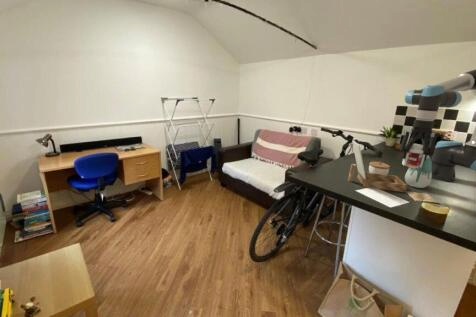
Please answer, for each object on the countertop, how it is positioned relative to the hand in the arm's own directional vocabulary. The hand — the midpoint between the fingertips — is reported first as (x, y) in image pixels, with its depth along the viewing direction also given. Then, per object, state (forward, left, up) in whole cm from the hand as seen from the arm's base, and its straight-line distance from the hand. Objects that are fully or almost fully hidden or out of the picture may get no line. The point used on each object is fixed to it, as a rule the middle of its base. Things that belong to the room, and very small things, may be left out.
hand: (411, 165), depth 114 cm
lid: (+22, -7, -1) cm, 23 cm away
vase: (-11, -12, -15) cm, 22 cm away
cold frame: (+12, -7, -15) cm, 20 cm away
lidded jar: (+6, -21, -15) cm, 26 cm away
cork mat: (-6, +5, -15) cm, 17 cm away
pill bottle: (0, 0, 0) cm, 0 cm away
